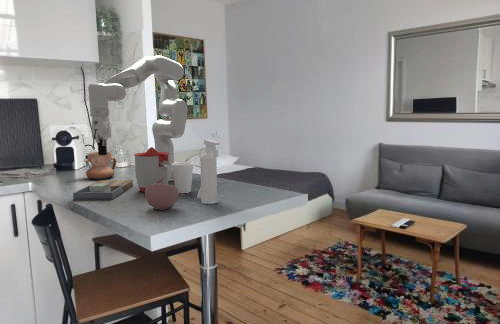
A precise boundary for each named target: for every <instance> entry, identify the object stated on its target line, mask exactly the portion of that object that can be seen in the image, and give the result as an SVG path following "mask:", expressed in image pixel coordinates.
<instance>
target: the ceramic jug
mask: <svg viewBox="0 0 500 324" xmlns="http://www.w3.org/2000/svg"><path fill="white" fill-rule="evenodd" d="M112 154H113V152H112V151H107V155H98V151H90V152H87V155H86V156H87V158H85V159H83V162H85V163H86V162H89V164H90V165H91V167H90V168H88V169H87V170H86V171H85V175H86V177H87V178H89V179H90V180H91V179H92V180H105V179H109V178H112V177H113V176H114V175H115V169H116V165H117V159H116V157H114V156H112ZM111 160H112V161H113V163H112V167H110V166H109V164H110V162H111Z"/></svg>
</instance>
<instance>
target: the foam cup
mask: <svg viewBox="0 0 500 324" xmlns="http://www.w3.org/2000/svg"><path fill="white" fill-rule="evenodd" d="M193 170H194V162H187V161H186V162H185V161H184V162H183V161H181V162H180V161H179V162H174V163H172V172H173V177H174V180H173V182H174V186H175V187H177V188H178V193H188V192H190V191H191V190H192V182H193V174H194V173H193ZM190 193H191V192H190ZM188 194H189V193H188Z"/></svg>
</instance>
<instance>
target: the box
mask: <svg viewBox="0 0 500 324" xmlns="http://www.w3.org/2000/svg"><path fill="white" fill-rule="evenodd" d="M120 194H121V195H122V194H124V193H123V189H122V186H120V187H119V188H117V189H111V192H91V191H90V189H88V187H87V186H85V187H83V188H80V189H79V190H77V191H74V192H73V193H72V197H73V199H72V200H73V201H113V200H115V199H116V198H117V197H119V196H121V195H120Z"/></svg>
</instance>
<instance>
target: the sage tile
mask: <svg viewBox="0 0 500 324" xmlns="http://www.w3.org/2000/svg"><path fill="white" fill-rule="evenodd" d="M94 183H95V182H94ZM92 184H93V183H92ZM90 185H91V184H90ZM88 186H89V185H88ZM108 188H109V183H95V184H93V185H91V186H89V189H90V191H104V190H106V189H108Z"/></svg>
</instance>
